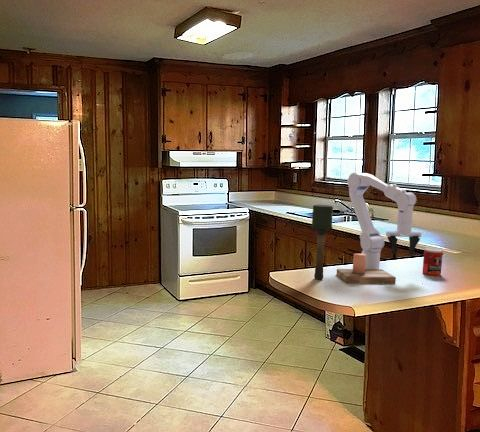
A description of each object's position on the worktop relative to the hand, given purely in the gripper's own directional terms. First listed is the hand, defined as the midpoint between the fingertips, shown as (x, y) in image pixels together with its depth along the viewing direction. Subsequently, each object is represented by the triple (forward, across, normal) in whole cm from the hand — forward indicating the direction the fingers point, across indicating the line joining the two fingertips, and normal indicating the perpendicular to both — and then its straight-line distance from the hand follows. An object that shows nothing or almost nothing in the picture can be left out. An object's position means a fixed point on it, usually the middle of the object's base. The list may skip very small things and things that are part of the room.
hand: (402, 253), depth 219 cm
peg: (+10, -19, -2) cm, 22 cm away
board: (+10, -16, -2) cm, 19 cm away
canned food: (+11, +18, +8) cm, 22 cm away
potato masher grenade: (+10, -36, -3) cm, 38 cm away
